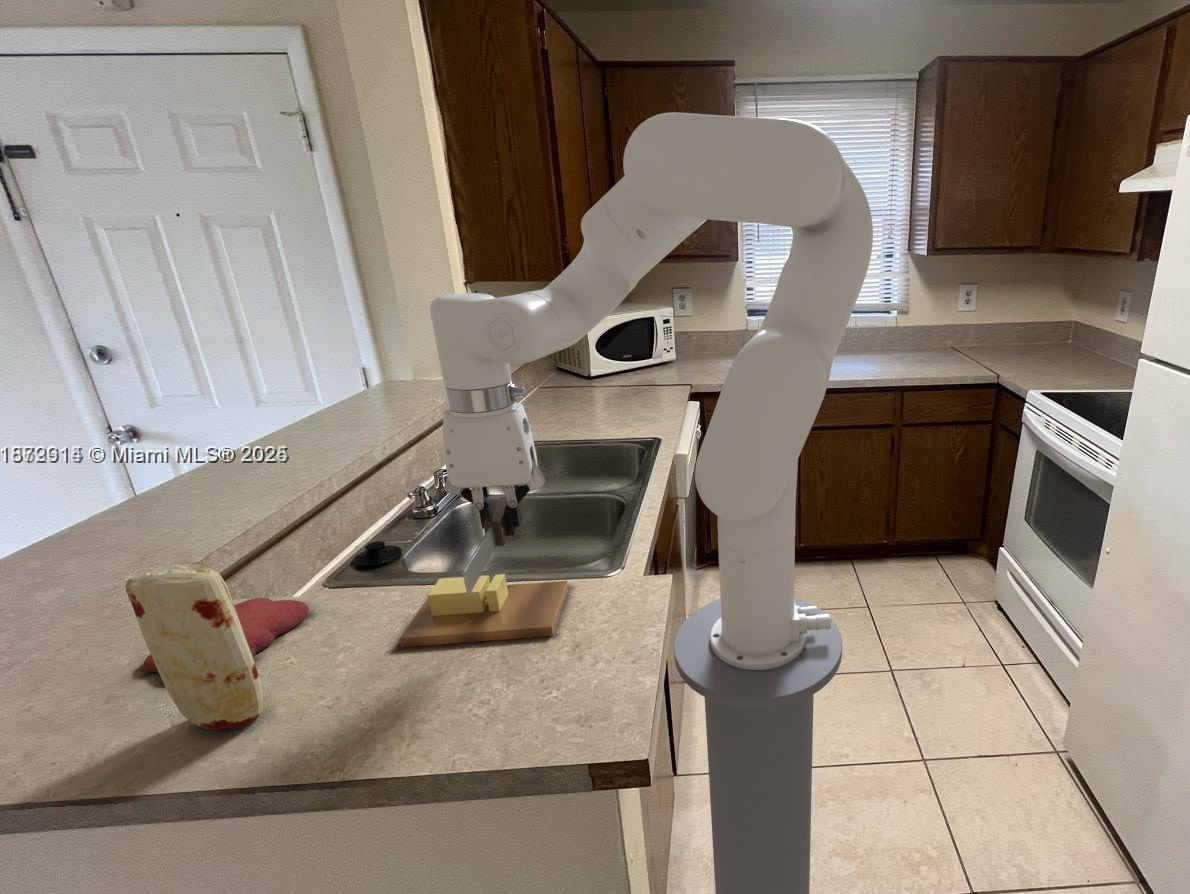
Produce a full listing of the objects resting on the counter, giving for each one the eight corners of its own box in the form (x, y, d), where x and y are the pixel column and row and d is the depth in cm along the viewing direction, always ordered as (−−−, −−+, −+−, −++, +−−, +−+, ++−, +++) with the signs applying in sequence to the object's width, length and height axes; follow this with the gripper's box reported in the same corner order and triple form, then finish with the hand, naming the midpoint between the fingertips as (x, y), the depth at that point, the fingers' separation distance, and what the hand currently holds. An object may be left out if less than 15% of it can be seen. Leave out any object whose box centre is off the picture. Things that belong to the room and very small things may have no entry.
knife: (503, 519, 85) (499, 496, 84) (518, 518, 85) (515, 496, 84) (458, 595, 67) (453, 568, 66) (477, 593, 67) (472, 567, 66)
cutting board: (569, 588, 96) (567, 580, 95) (553, 635, 85) (551, 626, 84) (435, 598, 94) (433, 589, 93) (400, 647, 82) (398, 638, 82)
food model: (163, 739, 68) (92, 584, 61) (217, 696, 74) (158, 551, 67) (247, 742, 67) (185, 586, 60) (294, 698, 74) (243, 552, 67)
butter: (492, 595, 92) (488, 575, 90) (483, 612, 87) (479, 591, 86) (443, 598, 91) (439, 578, 90) (431, 616, 87) (427, 595, 85)
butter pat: (508, 594, 92) (504, 573, 91) (500, 611, 88) (496, 590, 86) (499, 594, 92) (495, 574, 91) (489, 612, 88) (485, 591, 86)
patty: (224, 685, 76) (219, 672, 75) (120, 681, 77) (114, 668, 76) (328, 604, 92) (324, 593, 92) (241, 602, 93) (237, 590, 92)
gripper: (553, 388, 79) (569, 515, 86) (423, 392, 77) (450, 523, 84) (542, 403, 72) (560, 541, 79) (398, 408, 70) (429, 549, 77)
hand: (503, 530), depth 81 cm, fingers closed on knife, 2 cm apart
